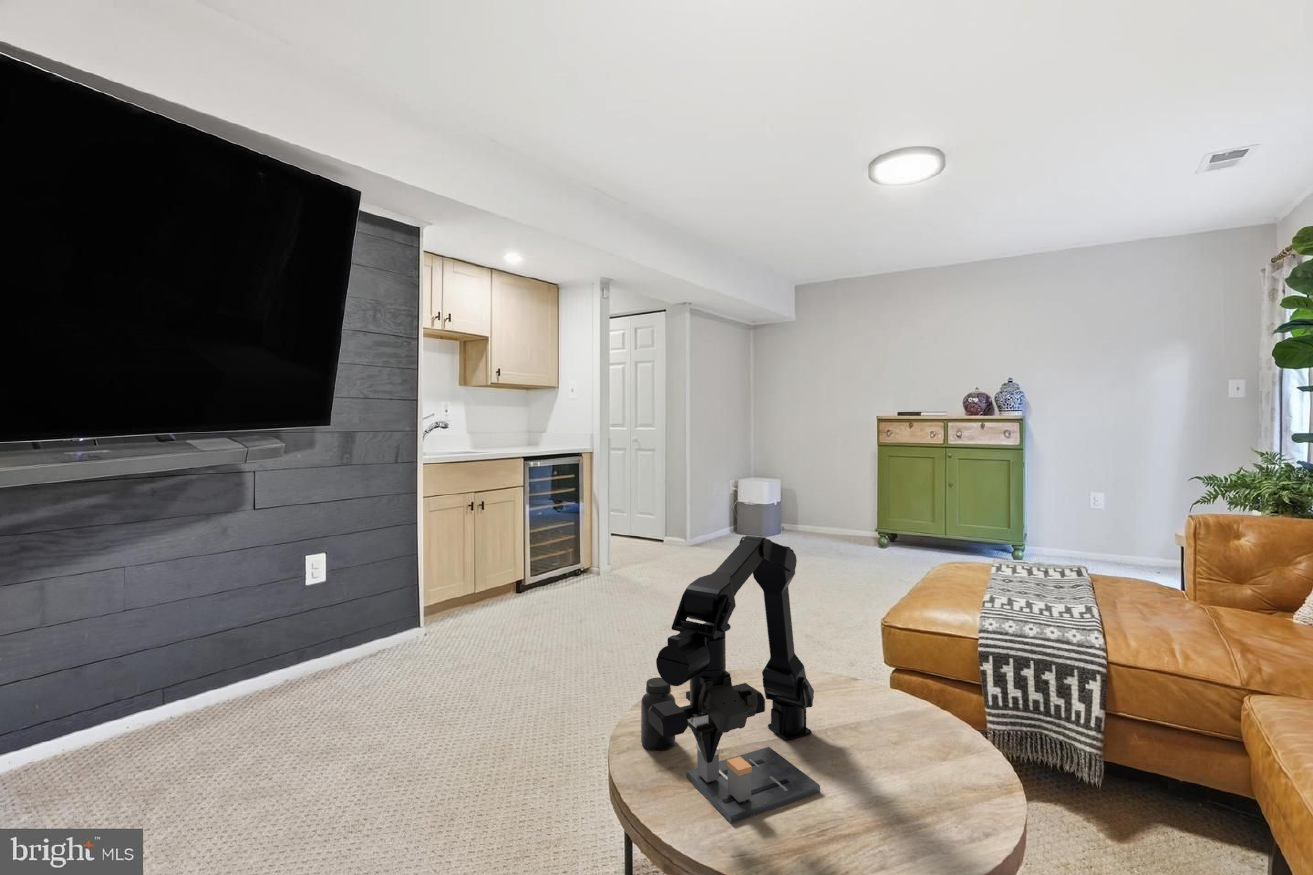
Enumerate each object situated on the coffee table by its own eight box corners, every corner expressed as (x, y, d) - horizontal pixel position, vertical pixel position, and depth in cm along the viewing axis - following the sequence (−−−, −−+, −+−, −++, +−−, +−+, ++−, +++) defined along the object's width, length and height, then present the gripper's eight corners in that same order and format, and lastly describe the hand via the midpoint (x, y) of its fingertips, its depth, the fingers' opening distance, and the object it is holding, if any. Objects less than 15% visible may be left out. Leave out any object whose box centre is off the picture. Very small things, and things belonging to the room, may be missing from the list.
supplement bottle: (672, 753, 113) (672, 690, 113) (637, 749, 114) (637, 687, 114) (678, 735, 119) (678, 676, 119) (645, 732, 121) (645, 673, 121)
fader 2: (740, 787, 99) (739, 756, 99) (752, 798, 96) (751, 766, 96) (726, 791, 98) (726, 760, 98) (738, 802, 95) (738, 770, 95)
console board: (768, 752, 113) (768, 745, 113) (820, 792, 100) (820, 784, 100) (686, 777, 105) (686, 770, 105) (731, 823, 92) (730, 815, 92)
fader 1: (709, 768, 105) (709, 739, 105) (719, 778, 102) (719, 748, 102) (696, 772, 103) (696, 742, 103) (706, 782, 100) (706, 752, 100)
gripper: (681, 695, 83) (681, 806, 83) (786, 670, 91) (787, 771, 91) (646, 667, 93) (647, 766, 93) (744, 647, 101) (745, 739, 101)
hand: (708, 761), depth 94 cm, fingers closed
